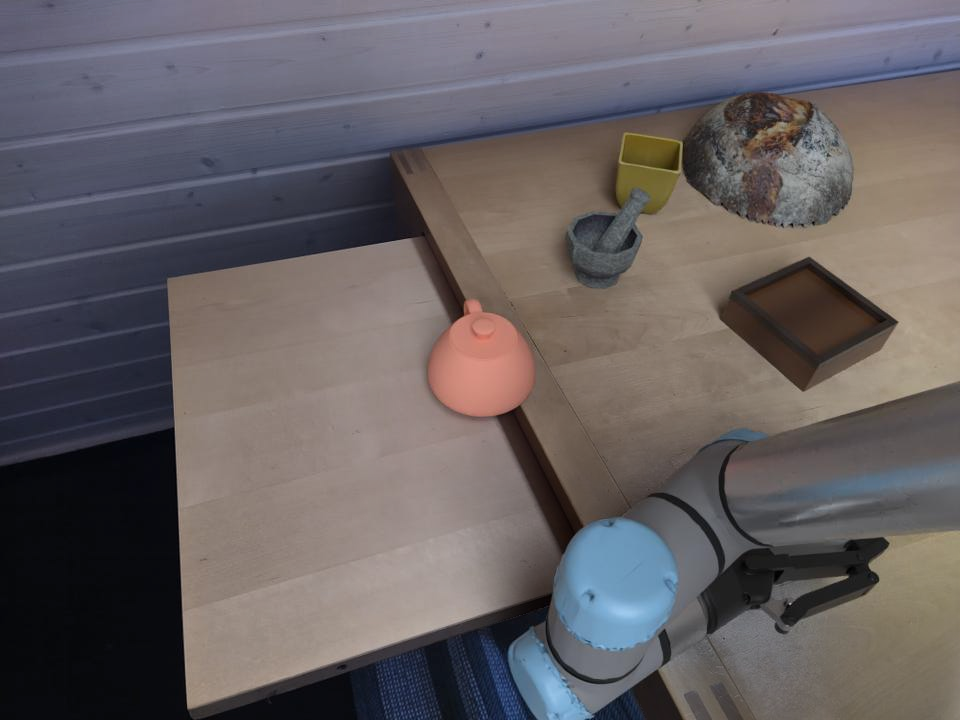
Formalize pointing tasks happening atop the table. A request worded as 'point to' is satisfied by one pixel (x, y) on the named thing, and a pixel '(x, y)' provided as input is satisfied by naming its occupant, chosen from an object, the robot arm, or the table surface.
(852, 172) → the bread
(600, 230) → the mortar and pestle
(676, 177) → the flower pot
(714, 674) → the table surface
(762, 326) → the brown wooden tray
